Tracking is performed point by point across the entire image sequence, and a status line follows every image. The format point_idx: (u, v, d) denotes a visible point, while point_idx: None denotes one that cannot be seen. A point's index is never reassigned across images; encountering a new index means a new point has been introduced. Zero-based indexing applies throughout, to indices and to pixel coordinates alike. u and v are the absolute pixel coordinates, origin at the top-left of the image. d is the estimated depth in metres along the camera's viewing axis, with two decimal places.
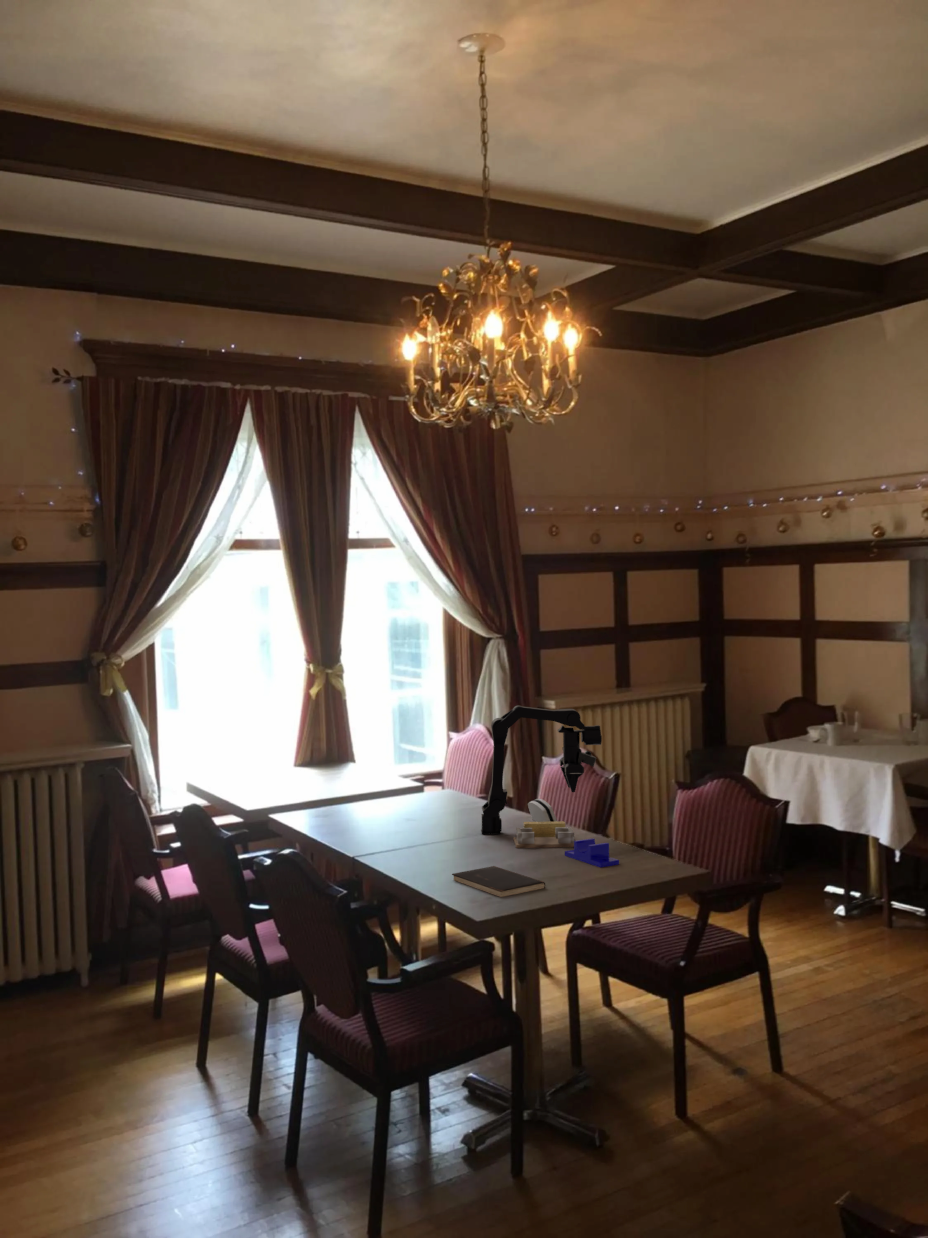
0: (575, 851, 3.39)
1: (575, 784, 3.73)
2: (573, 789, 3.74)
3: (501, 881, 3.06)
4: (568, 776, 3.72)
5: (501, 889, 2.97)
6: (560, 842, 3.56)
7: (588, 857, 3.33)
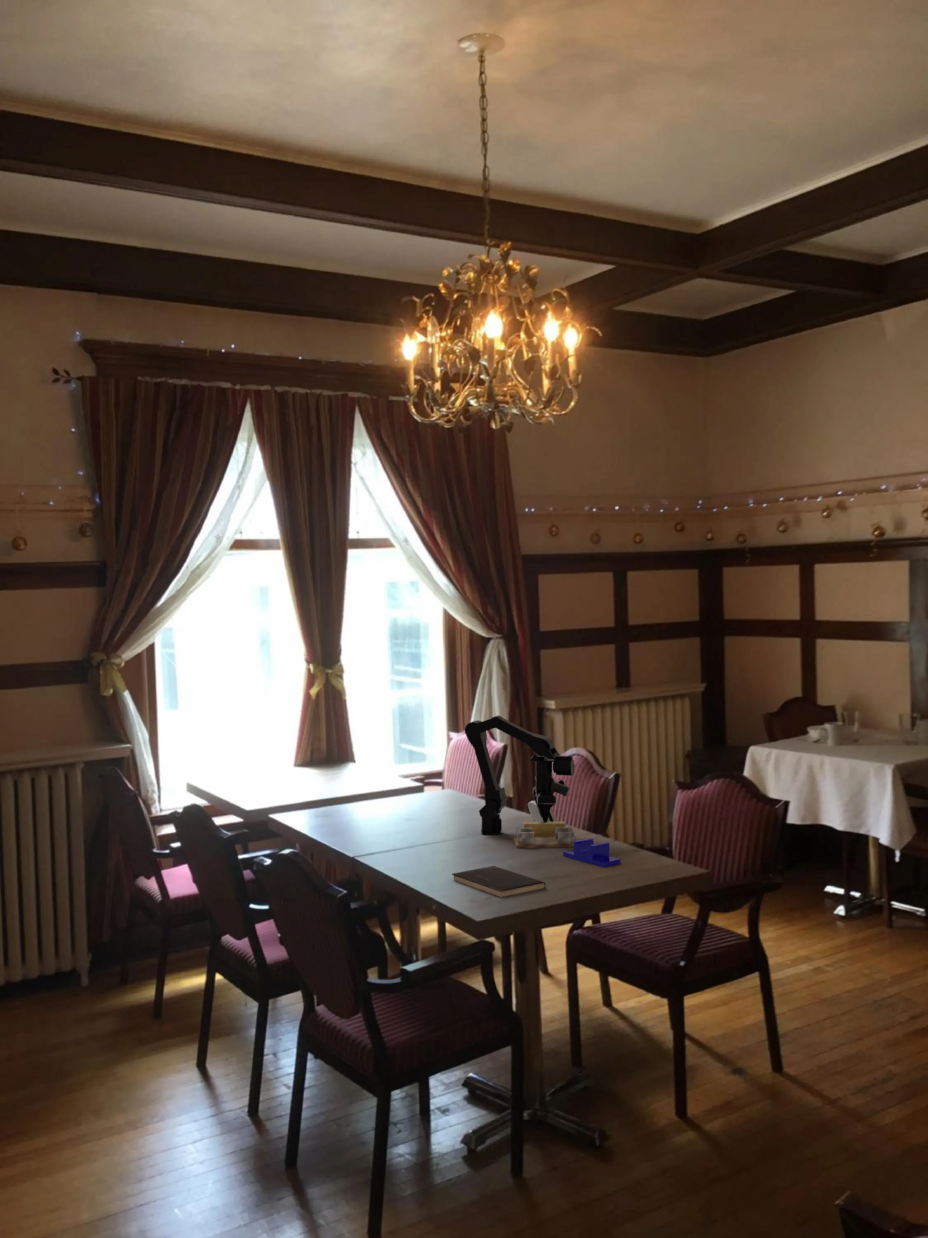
0: (575, 851, 3.39)
1: (547, 814, 3.66)
2: (545, 819, 3.67)
3: (501, 881, 3.06)
4: (540, 806, 3.65)
5: (501, 889, 2.97)
6: (560, 842, 3.56)
7: (590, 857, 3.33)
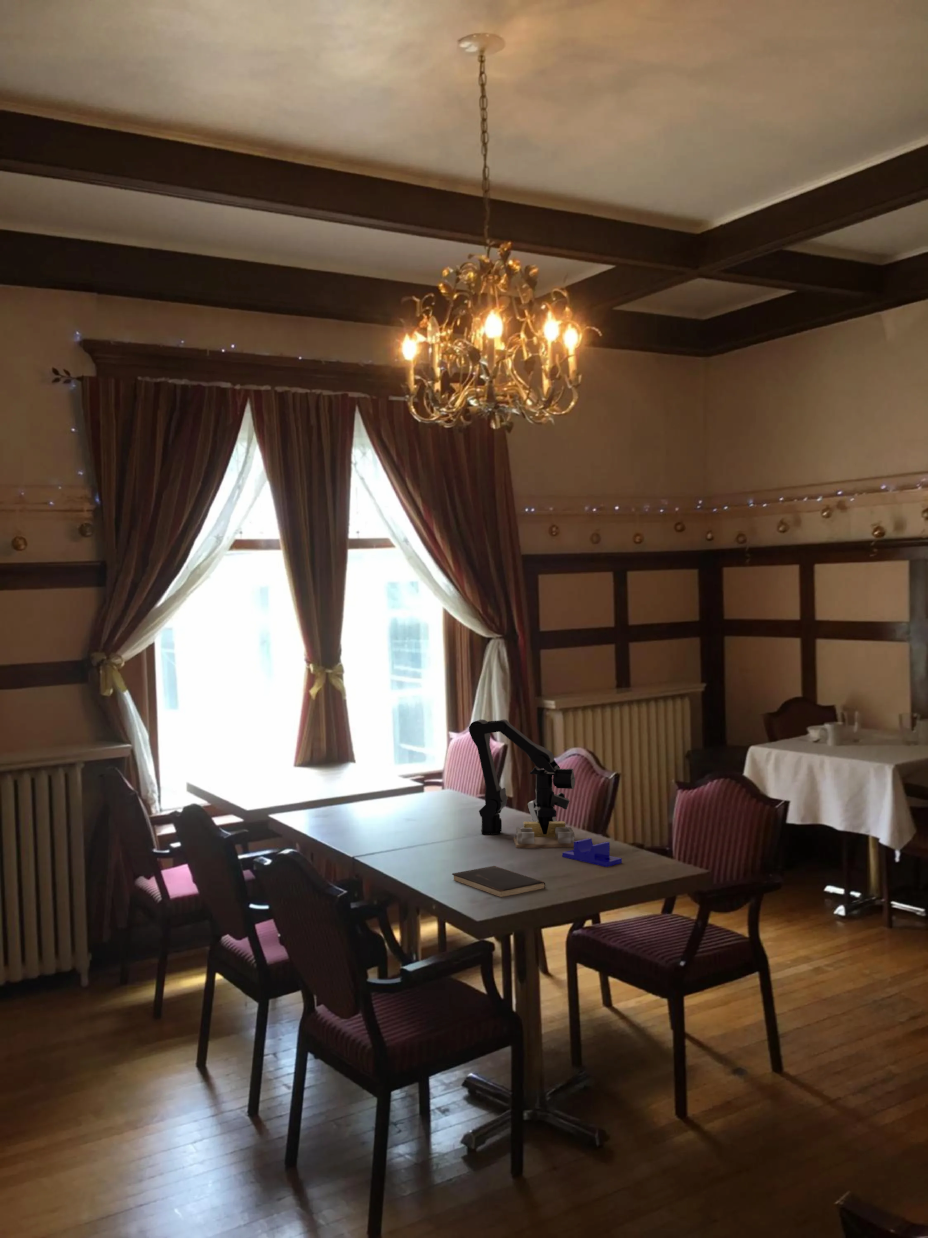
0: (575, 852, 3.38)
1: (547, 826, 3.69)
2: (545, 831, 3.69)
3: (501, 881, 3.06)
4: (539, 818, 3.68)
5: (501, 889, 2.97)
6: (560, 842, 3.56)
7: (592, 857, 3.33)
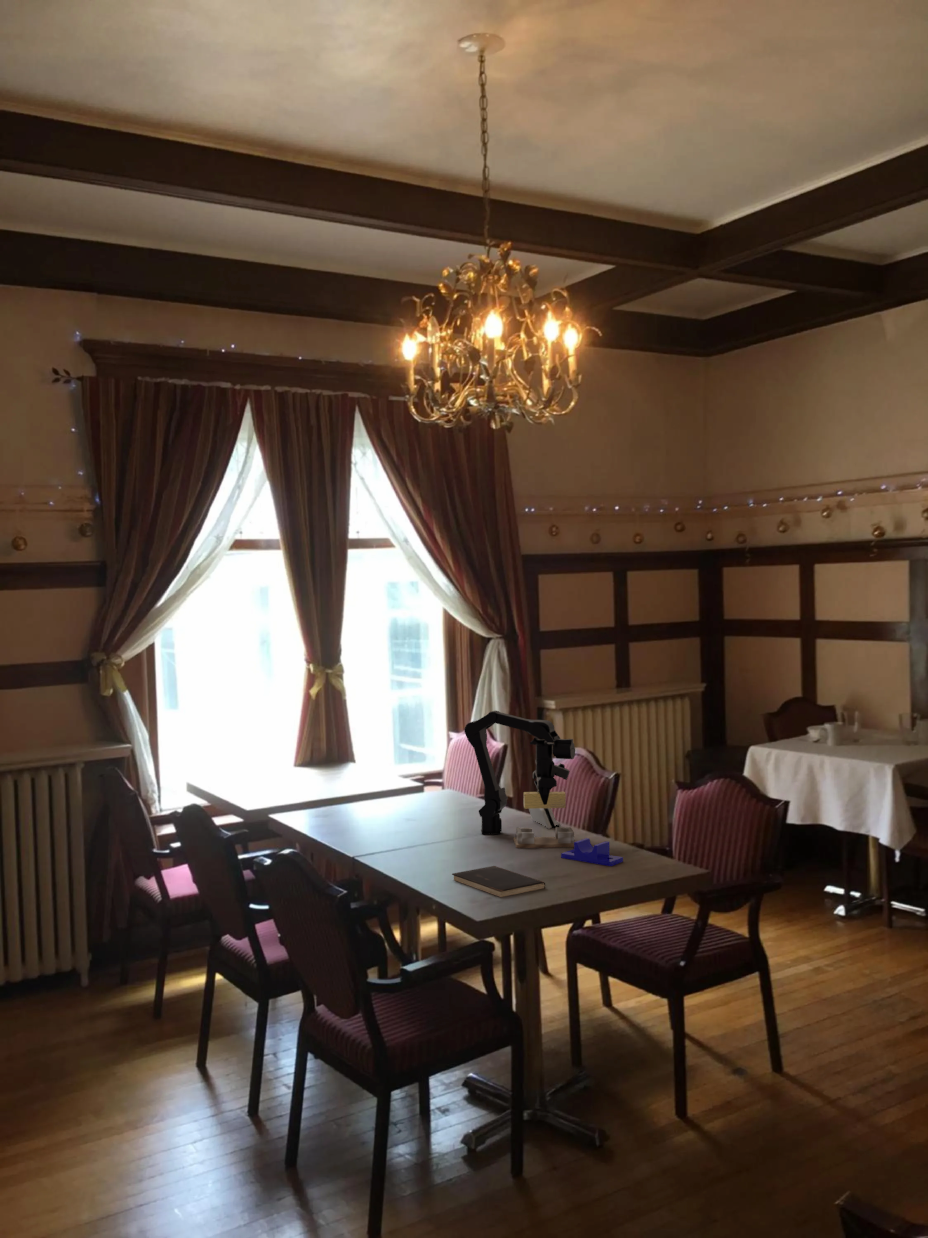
0: (576, 852, 3.38)
1: (547, 796, 3.68)
2: (545, 801, 3.68)
3: (501, 881, 3.06)
4: (540, 788, 3.66)
5: (501, 889, 2.97)
6: (560, 842, 3.56)
7: (594, 857, 3.33)
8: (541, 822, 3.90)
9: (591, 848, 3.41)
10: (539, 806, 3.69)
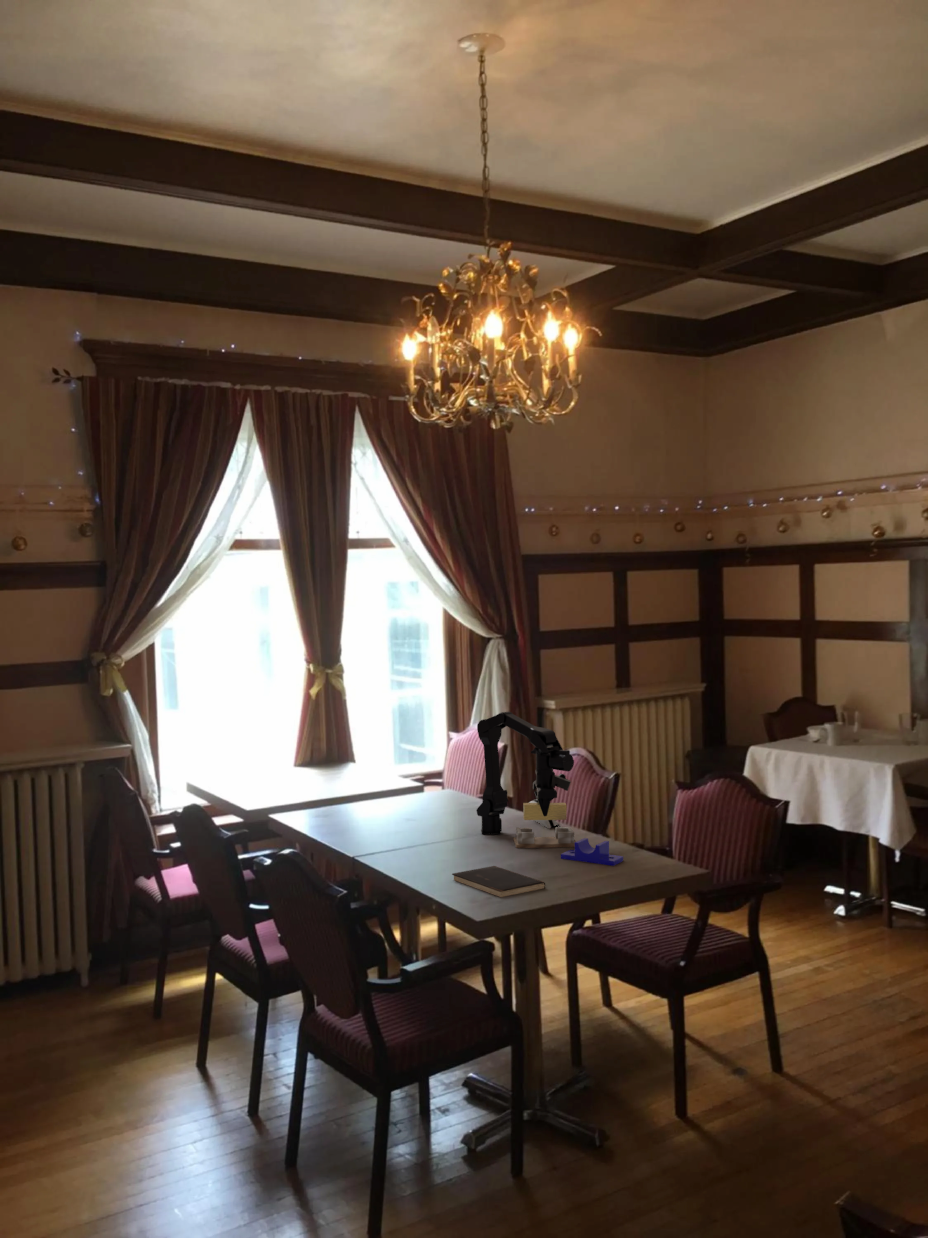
0: (576, 853, 3.37)
1: (547, 808, 3.58)
2: (545, 813, 3.58)
3: (501, 881, 3.06)
4: (540, 799, 3.57)
5: (501, 889, 2.97)
6: (560, 842, 3.56)
7: (596, 857, 3.34)
8: (541, 822, 3.90)
9: (590, 848, 3.41)
10: (539, 818, 3.59)
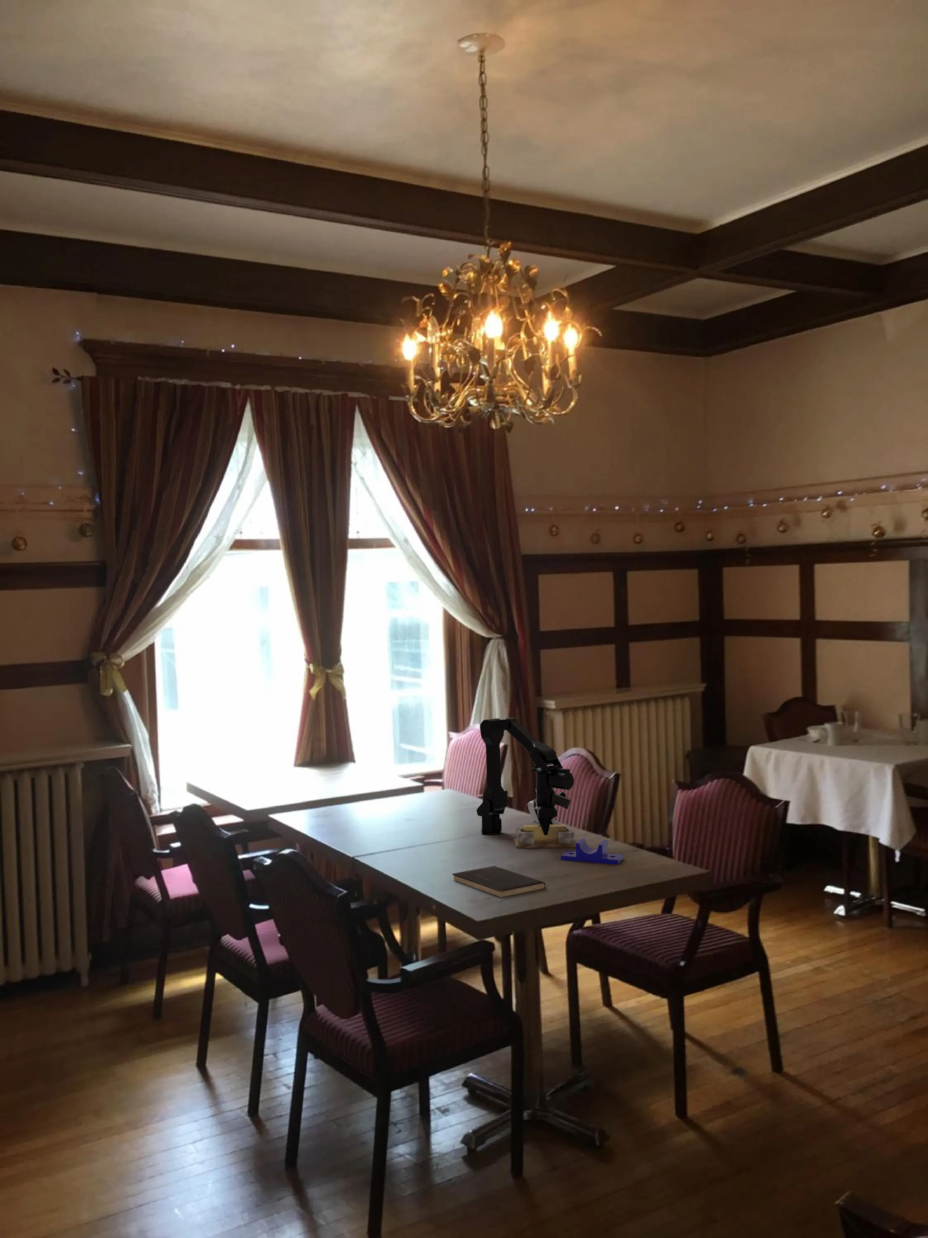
0: (578, 853, 3.36)
1: (548, 827, 3.56)
2: (546, 832, 3.57)
3: (501, 881, 3.06)
4: (540, 819, 3.55)
5: (501, 889, 2.97)
6: (560, 842, 3.56)
7: (599, 856, 3.34)
8: None
9: (589, 848, 3.41)
10: (539, 839, 3.59)
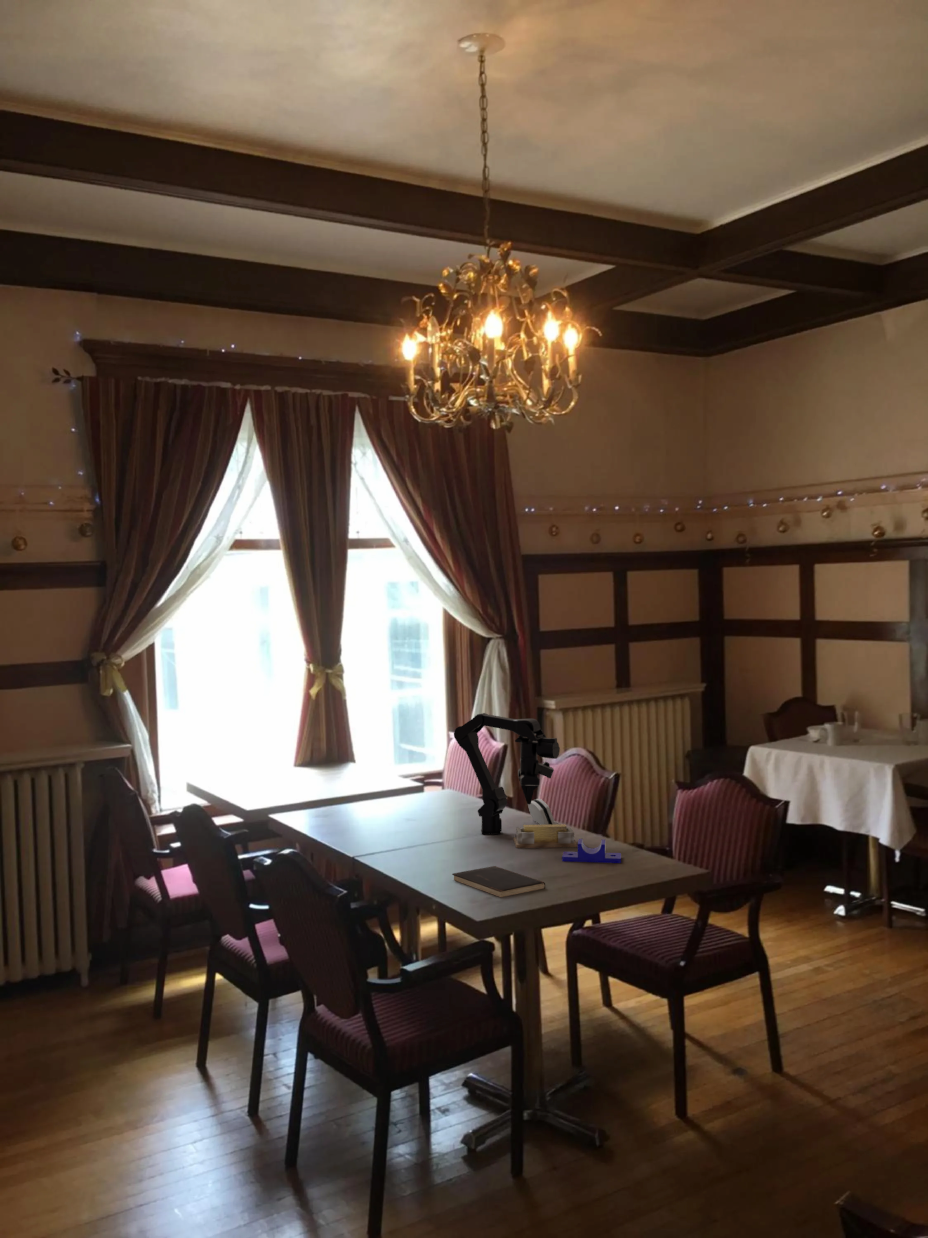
0: (580, 854, 3.36)
1: (531, 796, 3.65)
2: (529, 801, 3.66)
3: (501, 881, 3.06)
4: (523, 788, 3.64)
5: (501, 889, 2.97)
6: (560, 842, 3.56)
7: (602, 856, 3.35)
8: (540, 822, 3.90)
9: (587, 848, 3.41)
10: (539, 839, 3.59)
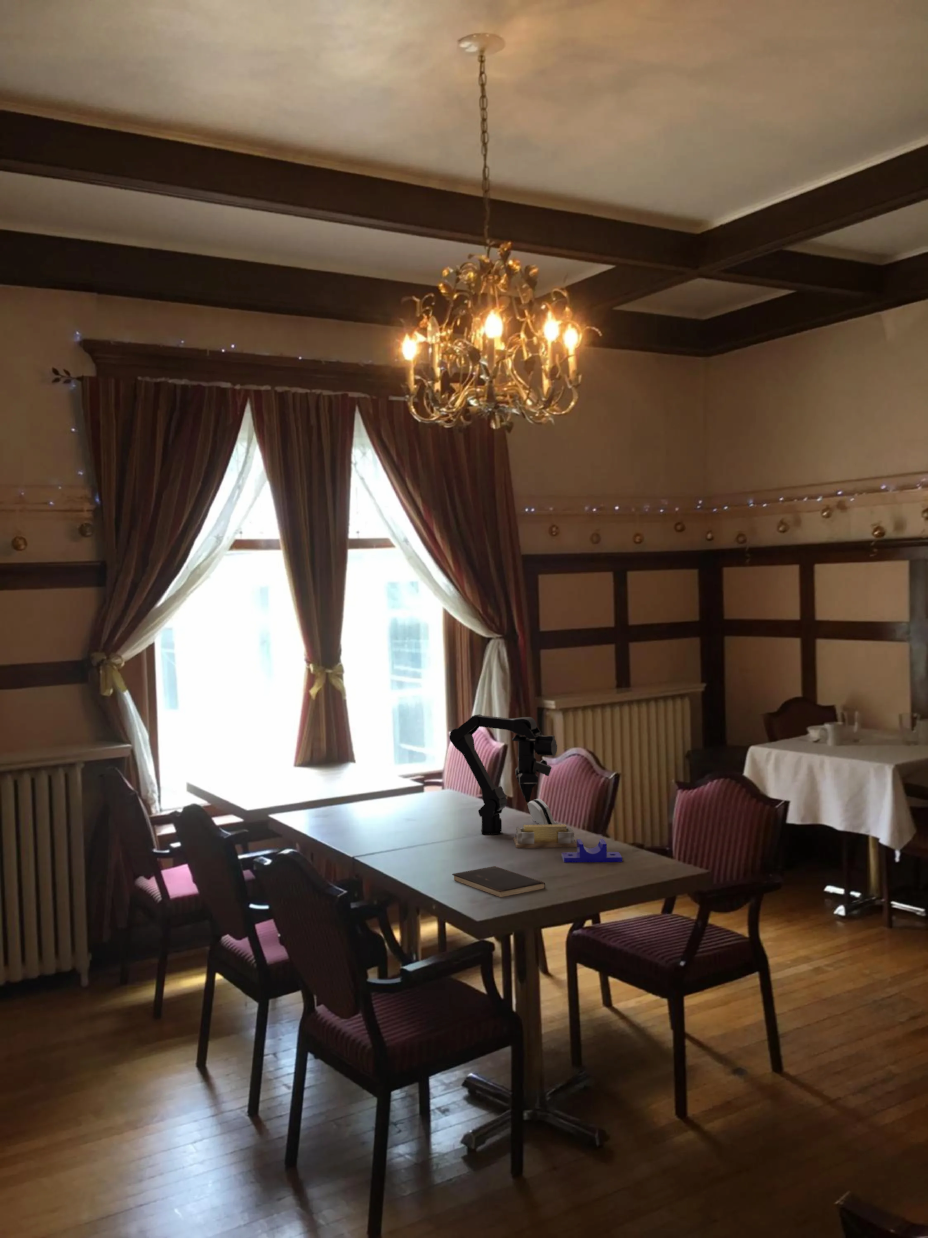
0: (582, 854, 3.35)
1: (529, 794, 3.67)
2: (528, 799, 3.67)
3: (501, 881, 3.06)
4: (522, 786, 3.66)
5: (501, 889, 2.97)
6: (560, 842, 3.56)
7: (603, 855, 3.35)
8: (540, 822, 3.90)
9: (586, 848, 3.41)
10: (539, 839, 3.59)
